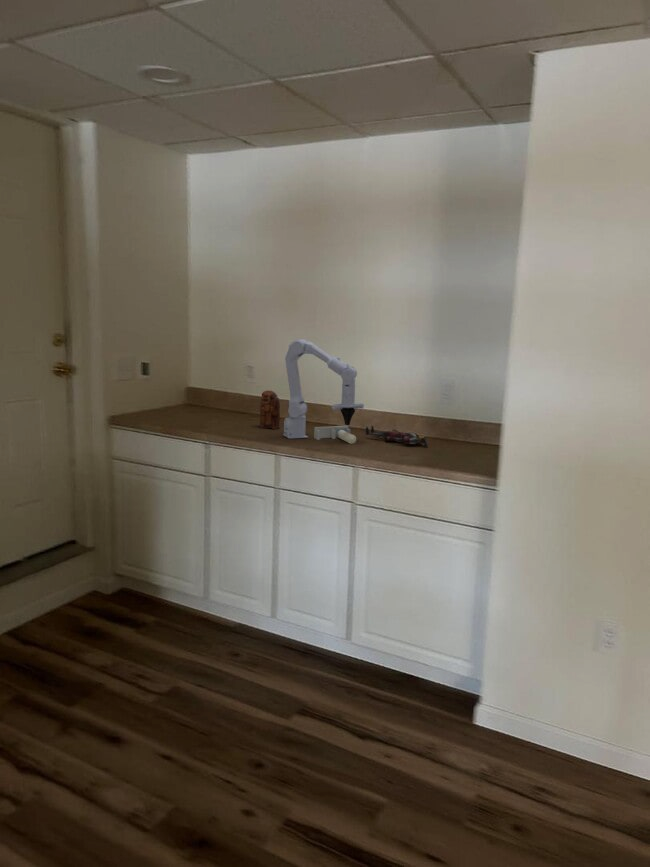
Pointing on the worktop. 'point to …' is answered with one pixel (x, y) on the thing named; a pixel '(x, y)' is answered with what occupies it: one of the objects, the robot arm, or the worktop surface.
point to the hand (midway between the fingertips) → (347, 424)
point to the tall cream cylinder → (346, 436)
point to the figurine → (398, 436)
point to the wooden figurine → (269, 410)
